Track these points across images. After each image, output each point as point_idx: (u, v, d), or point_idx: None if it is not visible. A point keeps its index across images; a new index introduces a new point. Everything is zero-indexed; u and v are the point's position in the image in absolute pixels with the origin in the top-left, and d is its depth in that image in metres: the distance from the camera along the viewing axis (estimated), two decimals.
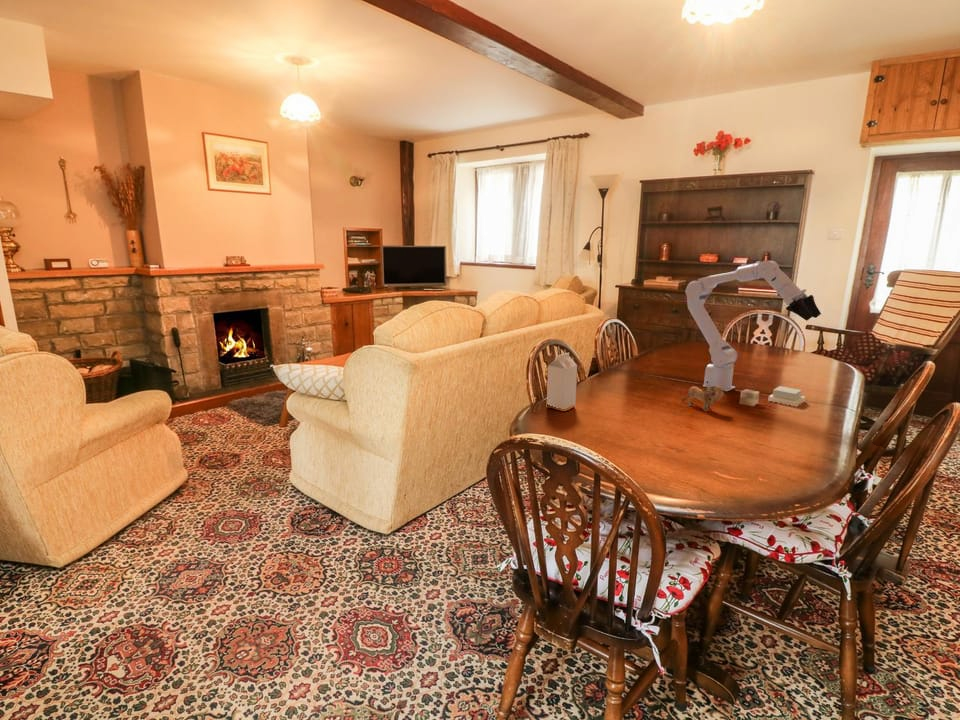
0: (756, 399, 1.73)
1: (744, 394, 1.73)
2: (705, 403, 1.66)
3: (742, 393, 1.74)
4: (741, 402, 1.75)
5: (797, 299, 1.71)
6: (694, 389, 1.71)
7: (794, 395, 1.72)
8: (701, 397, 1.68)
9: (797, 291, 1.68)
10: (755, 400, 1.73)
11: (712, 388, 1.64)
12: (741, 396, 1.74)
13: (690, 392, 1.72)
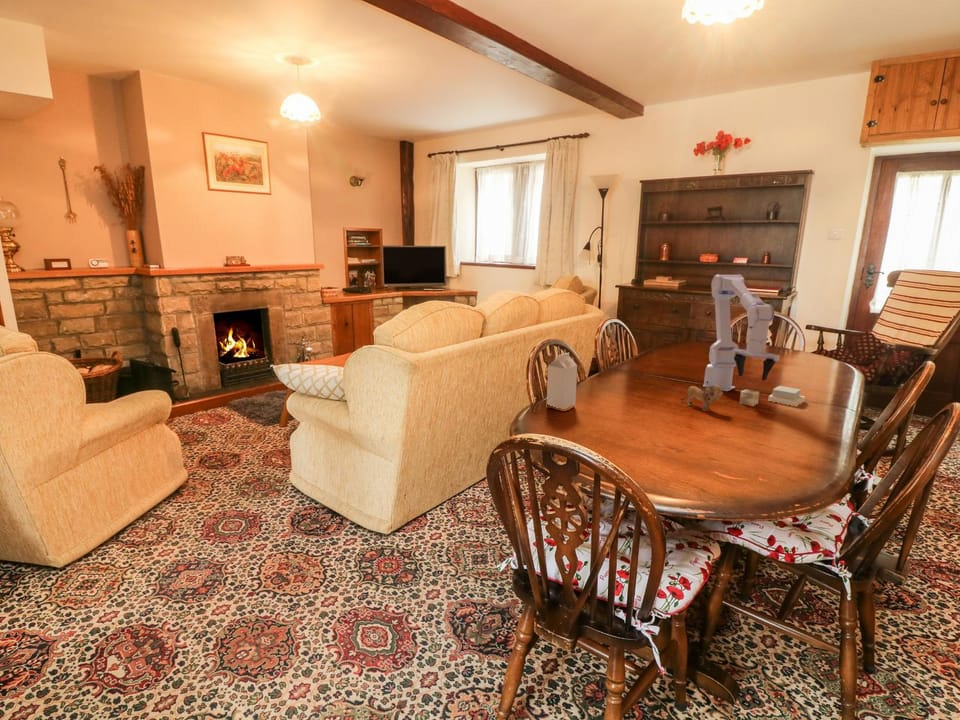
0: (756, 399, 1.73)
1: (744, 394, 1.73)
2: (704, 403, 1.67)
3: (742, 393, 1.74)
4: (741, 402, 1.75)
5: None
6: (693, 389, 1.71)
7: (794, 395, 1.73)
8: (700, 397, 1.68)
9: (748, 350, 1.70)
10: (755, 400, 1.73)
11: (711, 388, 1.65)
12: (741, 396, 1.74)
13: (689, 392, 1.72)
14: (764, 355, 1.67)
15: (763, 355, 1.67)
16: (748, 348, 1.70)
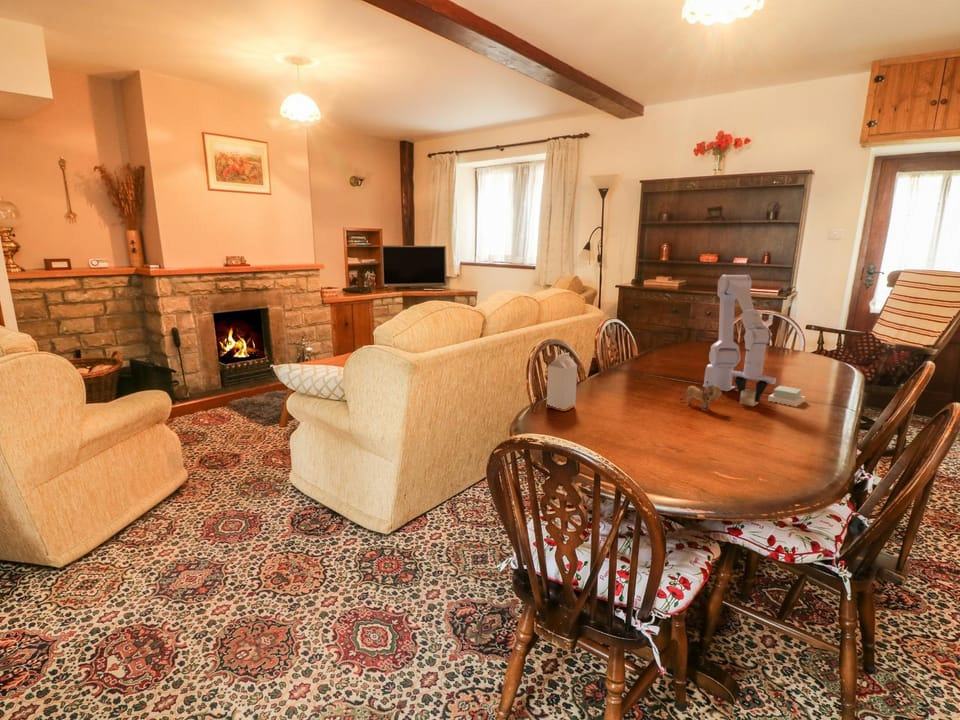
0: None
1: (744, 393, 1.73)
2: (703, 402, 1.67)
3: (742, 393, 1.74)
4: (741, 402, 1.75)
5: None
6: (692, 388, 1.71)
7: (795, 395, 1.72)
8: (699, 396, 1.68)
9: (745, 373, 1.72)
10: None
11: (710, 387, 1.65)
12: (741, 396, 1.74)
13: (688, 391, 1.73)
14: (761, 378, 1.69)
15: (760, 378, 1.69)
16: (745, 371, 1.72)
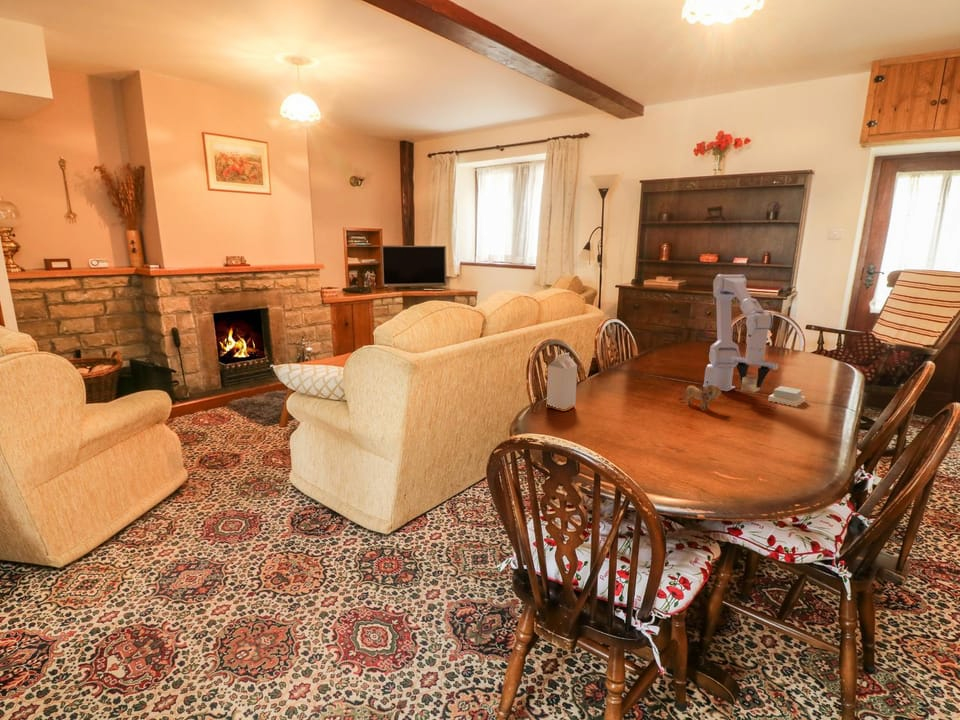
0: None
1: (746, 379, 1.72)
2: (702, 402, 1.67)
3: (744, 379, 1.73)
4: (743, 388, 1.73)
5: None
6: (691, 388, 1.72)
7: (795, 395, 1.72)
8: (698, 396, 1.69)
9: (747, 358, 1.71)
10: None
11: (709, 387, 1.65)
12: (743, 382, 1.73)
13: (687, 391, 1.73)
14: (763, 363, 1.68)
15: (762, 363, 1.68)
16: (747, 356, 1.71)
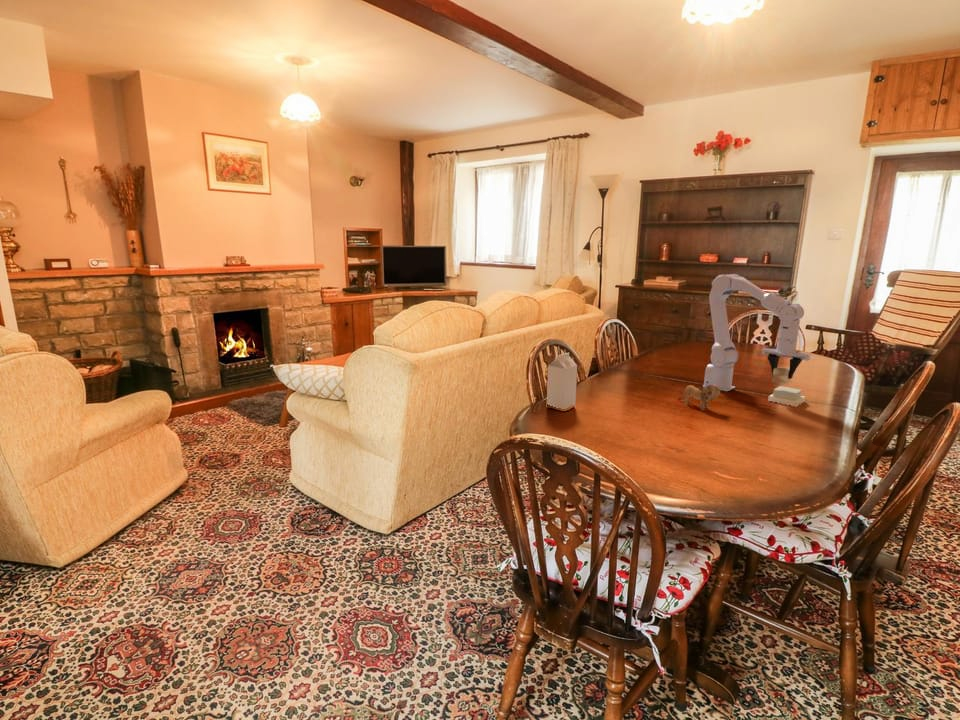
0: None
1: (777, 371, 1.74)
2: (702, 402, 1.68)
3: (775, 370, 1.74)
4: (774, 379, 1.75)
5: None
6: (691, 388, 1.72)
7: (794, 395, 1.72)
8: (698, 396, 1.69)
9: (778, 350, 1.72)
10: None
11: (709, 387, 1.66)
12: (774, 373, 1.74)
13: (687, 391, 1.73)
14: (795, 354, 1.69)
15: (794, 354, 1.69)
16: (778, 347, 1.72)
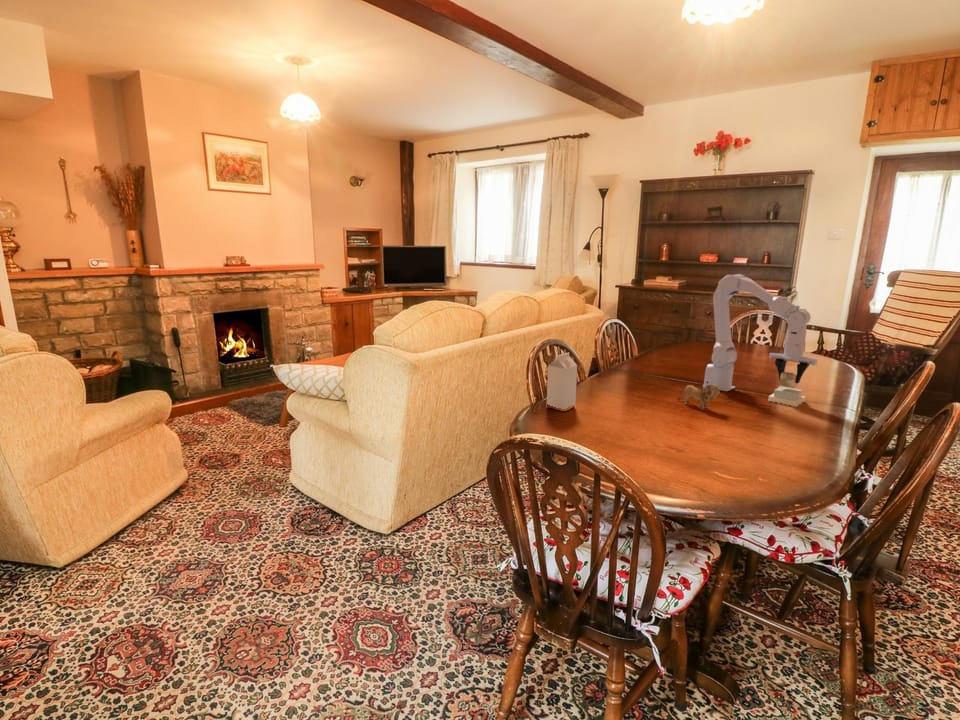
0: None
1: (784, 375, 1.75)
2: (701, 402, 1.68)
3: (782, 375, 1.75)
4: (781, 384, 1.76)
5: None
6: (690, 388, 1.72)
7: (795, 395, 1.72)
8: (697, 396, 1.69)
9: (786, 354, 1.73)
10: None
11: (708, 387, 1.66)
12: (781, 378, 1.75)
13: (686, 391, 1.73)
14: (802, 359, 1.70)
15: (801, 359, 1.70)
16: (786, 352, 1.73)
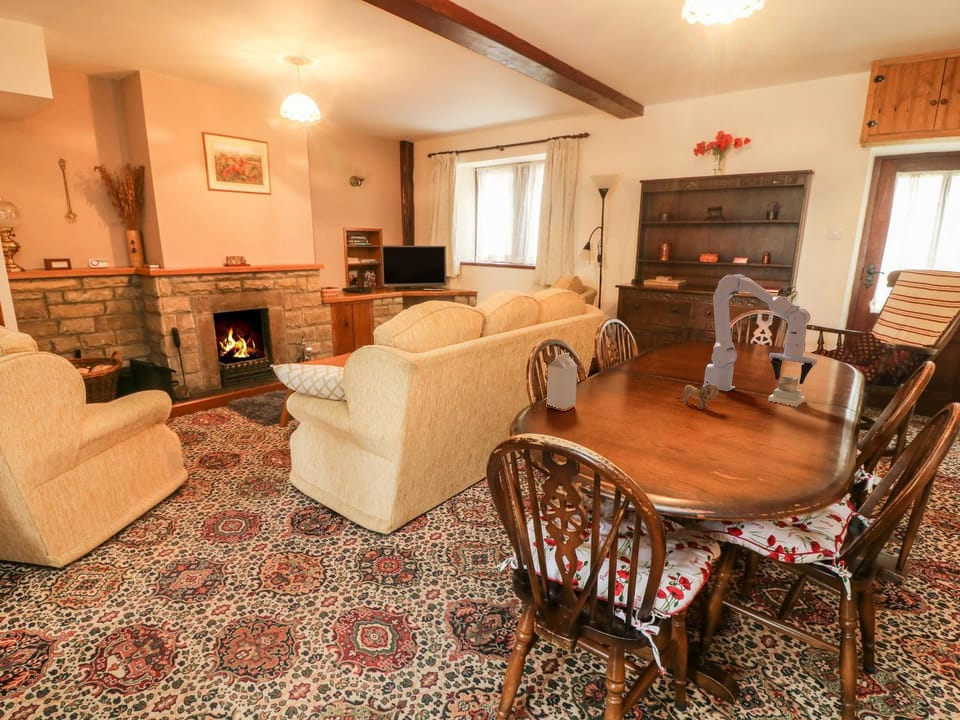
0: (795, 385, 1.75)
1: (783, 380, 1.75)
2: (700, 401, 1.68)
3: (781, 379, 1.76)
4: (780, 388, 1.77)
5: None
6: (689, 388, 1.72)
7: (795, 395, 1.72)
8: (696, 395, 1.69)
9: (786, 354, 1.73)
10: (794, 386, 1.75)
11: (708, 387, 1.66)
12: (780, 382, 1.76)
13: (685, 391, 1.74)
14: (802, 359, 1.70)
15: (801, 359, 1.70)
16: (786, 352, 1.73)
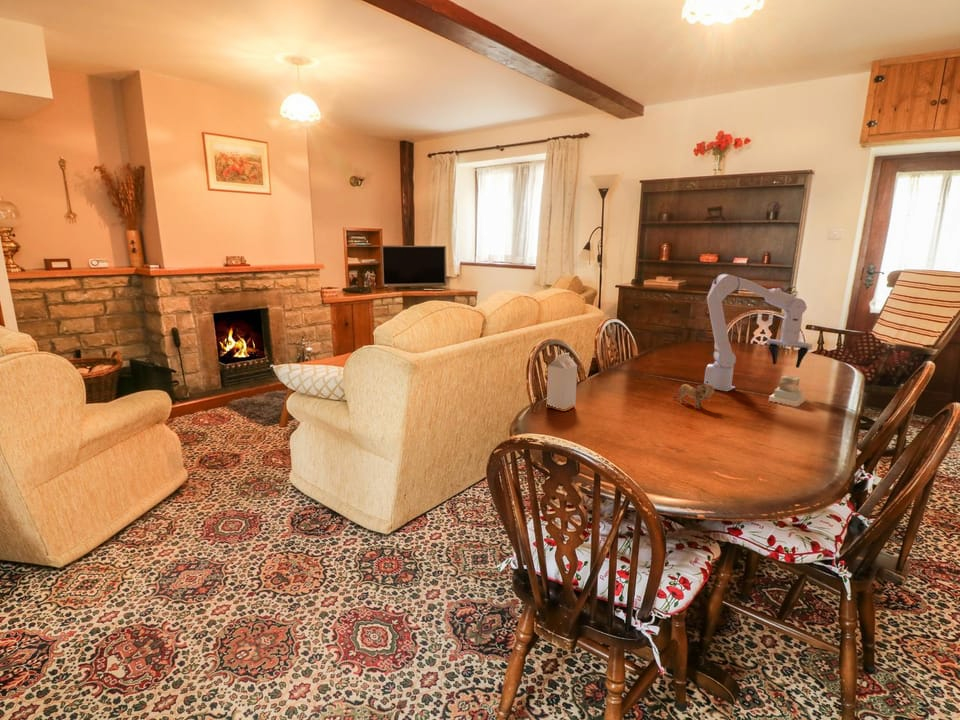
0: (796, 385, 1.74)
1: (784, 379, 1.75)
2: (696, 400, 1.69)
3: (782, 379, 1.76)
4: (781, 388, 1.76)
5: None
6: (685, 387, 1.73)
7: (796, 395, 1.72)
8: (692, 395, 1.71)
9: (783, 340, 1.84)
10: (795, 386, 1.74)
11: (703, 386, 1.67)
12: (781, 382, 1.76)
13: (681, 390, 1.75)
14: (798, 344, 1.81)
15: (797, 344, 1.81)
16: (783, 338, 1.84)
